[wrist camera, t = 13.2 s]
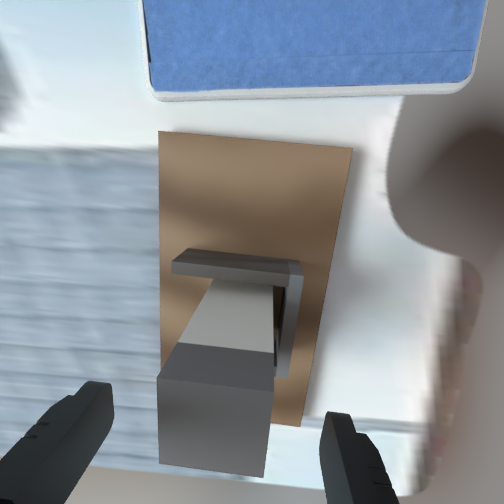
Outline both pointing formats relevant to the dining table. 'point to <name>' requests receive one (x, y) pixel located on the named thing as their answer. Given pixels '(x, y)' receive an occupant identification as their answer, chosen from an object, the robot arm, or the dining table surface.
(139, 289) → the dining table surface
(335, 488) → the robot arm
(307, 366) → the holder
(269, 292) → the plug
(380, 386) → the dining table surface
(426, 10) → the tablet computer
